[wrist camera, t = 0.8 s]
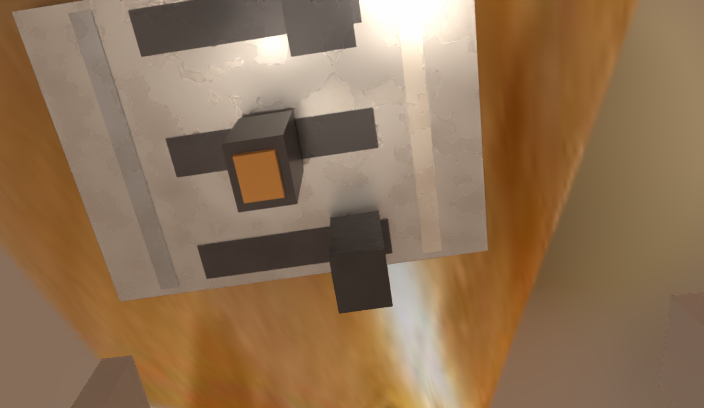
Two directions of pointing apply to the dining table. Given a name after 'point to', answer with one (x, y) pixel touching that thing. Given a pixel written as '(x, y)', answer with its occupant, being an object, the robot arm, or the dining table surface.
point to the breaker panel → (258, 99)
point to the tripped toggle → (264, 161)
